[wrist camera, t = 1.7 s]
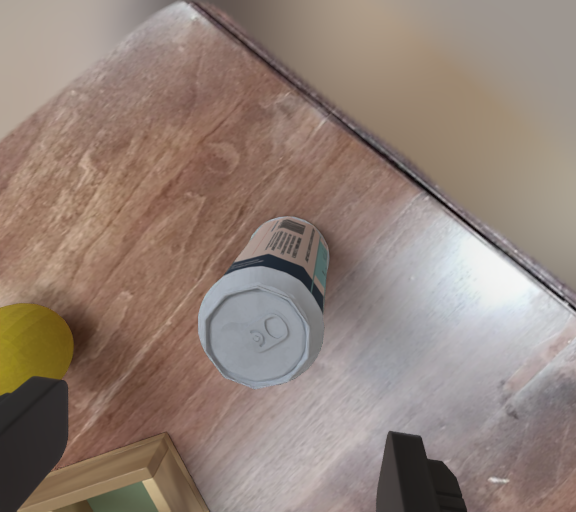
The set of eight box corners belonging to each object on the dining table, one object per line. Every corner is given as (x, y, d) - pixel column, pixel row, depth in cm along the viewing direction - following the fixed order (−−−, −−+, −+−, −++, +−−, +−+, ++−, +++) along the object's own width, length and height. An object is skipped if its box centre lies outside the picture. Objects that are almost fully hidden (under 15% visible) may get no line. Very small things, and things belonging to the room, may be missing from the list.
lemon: (103, 364, 33) (31, 439, 25) (24, 369, 33) (-71, 442, 26) (86, 283, 31) (4, 335, 24) (4, 289, 32) (-103, 341, 24)
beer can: (232, 243, 30) (164, 318, 18) (299, 198, 29) (273, 248, 17) (278, 308, 30) (240, 420, 19) (345, 267, 29) (349, 360, 18)
